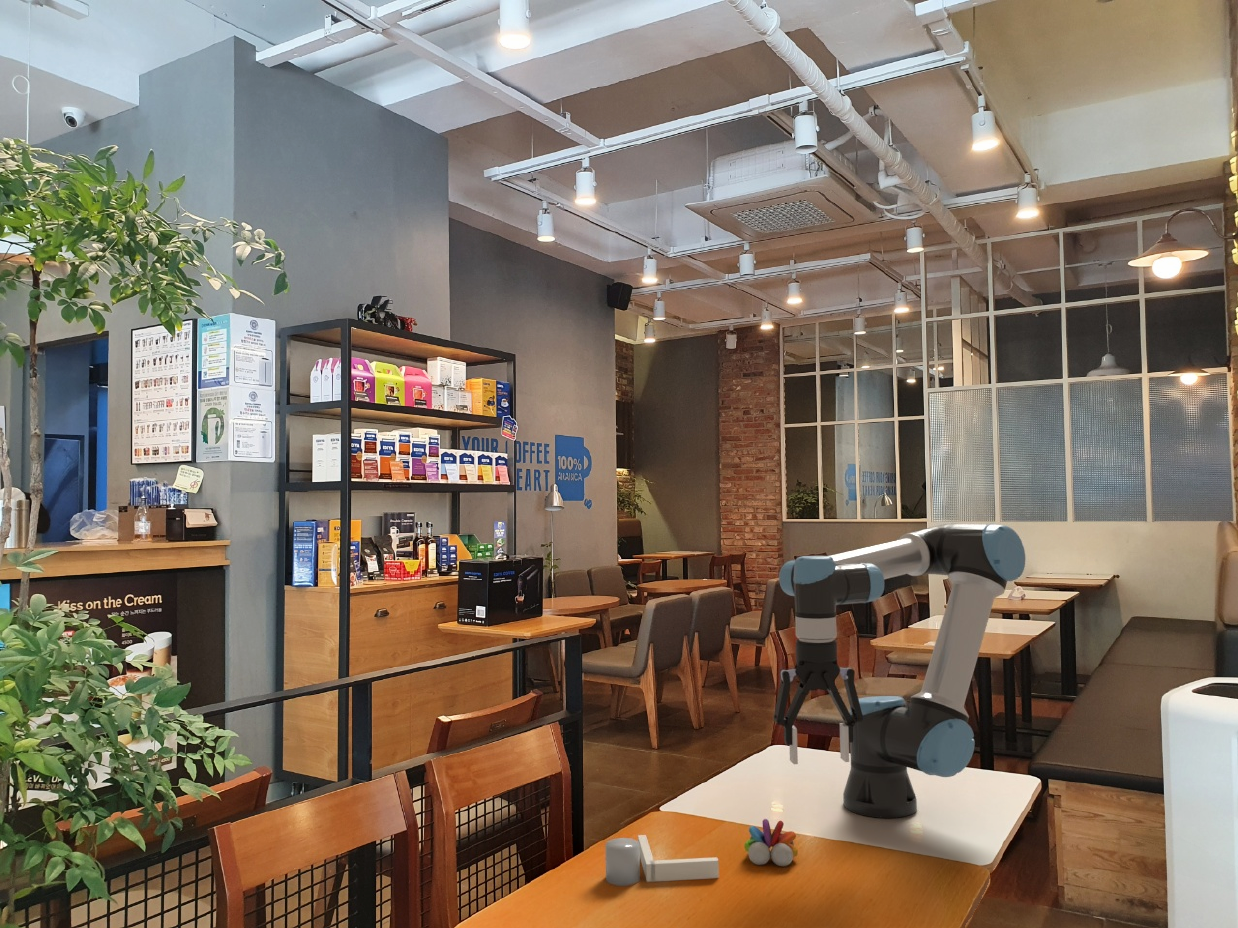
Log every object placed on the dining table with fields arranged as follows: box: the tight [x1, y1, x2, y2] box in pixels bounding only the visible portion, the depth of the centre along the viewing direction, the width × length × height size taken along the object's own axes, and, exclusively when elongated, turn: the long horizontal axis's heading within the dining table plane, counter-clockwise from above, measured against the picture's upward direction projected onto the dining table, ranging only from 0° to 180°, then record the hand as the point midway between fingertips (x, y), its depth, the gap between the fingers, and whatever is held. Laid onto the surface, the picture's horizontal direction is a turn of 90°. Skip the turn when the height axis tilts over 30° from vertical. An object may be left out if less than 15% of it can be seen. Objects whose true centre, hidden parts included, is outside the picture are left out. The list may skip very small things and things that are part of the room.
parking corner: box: [637, 834, 720, 883], centre depth 167 cm, size 13×14×3 cm
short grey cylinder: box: [604, 837, 641, 887], centre depth 161 cm, size 6×6×6 cm
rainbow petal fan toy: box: [744, 818, 799, 867], centre depth 169 cm, size 8×10×7 cm
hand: (819, 760), depth 170 cm, fingers open, 9 cm apart
